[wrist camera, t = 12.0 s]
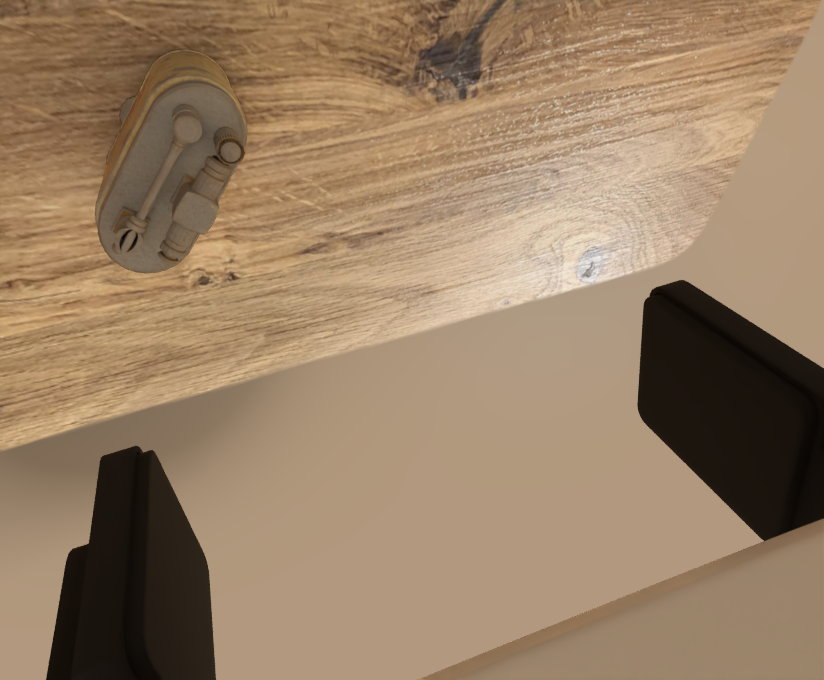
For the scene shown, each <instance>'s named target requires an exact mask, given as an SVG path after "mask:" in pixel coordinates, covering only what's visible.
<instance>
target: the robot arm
mask: <svg viewBox="0 0 824 680" xmlns="http://www.w3.org/2000/svg"><path fill="white" fill-rule="evenodd" d="M638 411H639V414H640V416H641V418H642V420H643V421H644V423H645V424H646V425H647V426H648V427H649V428H650V429H651V430H652V431H653V432H654V433H655V434H656V435H657V436H658V437H659V438H660V439H661V440H662V441H663V442H664V443H665V444H666V445H667V446H668V447H669V448H670V449H672V450H673V452H674V453H676V455H677V456H678V457H679V458H681V460H683V462H685V463H686V464H687V465H688V466H689V467H690V468H691V469H692V470H693V471H694V472H695V473H696V474H697V475H698V476H699V477H700V478H701V479H702V480H703V481H704V482H705V483H706V484H707V485H708V486H709V487H710V488H711V489H712V490H713V491H714V492H715V493H716V494H717V495H718V496H719V497H720V498H721V499H722V500H723V501H724V502H725V503H726V504H727V505H728V506H729V507H730V508H731V509H732V510H733V511H734V512H735V513H736V514H737V515H738V516H739V517H740V518H741V519H742V520H743V521H744V522H745V523H746V524H747V525H748V526H749V527H750V528H751V529H752V530H753V531H754V532H755V533H756V534H757V535H758V536H759V537H760V538H761V539H763V540H764V542H761V543H759V544H756V545H754V546H751V547H749V548H746V549H743V550H741V551H738V552H736V553H733V554H731V555H728V556H726V557H723V558H721V559H718V560H716V561H713V562H710V563H708V564H705V565H703V566H700V567H698V568H695V569H693V570H690V571H688V572H685V573H683V574H680V575H678V576H675V577H672V578H670V579H668V580H665V581H662V582H660V583H657V584H655V585H652V586H650V587H647V588H645V589H642V590H640V591H637V592H635V593H632V594H630V595H627V596H625V597H622V598H620V599H617V600H615V601H612V602H610V603H607V604H605V605H602V606H600V607H597V608H595V609H592V610H590V611H587V612H585V613H582V614H580V615H577V616H575V617H572V618H570V619H567V620H565V621H562V622H560V623H557V624H555V625H552V626H550V627H547V628H545V629H542V630H540V631H537V632H535V633H532V634H530V635H527V636H525V637H522V638H520V639H517V640H515V641H512V642H510V643H507V644H505V645H503V646H500V647H497V648H495V649H493V650H490V651H488V652H485V653H483V654H480V655H478V656H475V657H473V658H471V659H468V660H466V661H463V662H461V663H458V664H456V665H453V666H451V667H448V668H446V669H443V670H441V671H438V672H436V673H433V674H431V675H428V676H426V677H424V678H421V679H419V680H824V368H822V367H820V366H819V365H817V364H816V363H814V362H813V361H811V360H810V359H808V358H806V357H805V356H803V355H802V354H800V353H799V352H797V351H795V350H794V349H792V348H791V347H789V346H788V345H786V344H784V343H783V342H781V341H780V340H778V339H777V338H775V337H773V336H771V335H770V334H769V333H767V332H766V331H764V330H762V329H761V328H759V327H758V326H756V325H755V324H753V323H751V322H749V321H748V320H747V319H745V318H743V317H742V316H740V315H739V314H737V313H736V312H734V311H733V310H731V309H729V308H728V307H726V306H725V305H723V304H722V303H720V302H718V301H717V300H715V299H714V298H712V297H711V296H709V295H707V294H706V293H704V292H703V291H701V290H700V289H698V288H696V287H695V286H693V285H692V284H690V283H689V282H686V281H684V280H679V281H676V282H673V283H669V284H666V285H663V286H659V287H656V288H654V289H653V290H652V291H651V293H650V297H649V298H647V299H646V300H645V302H644V310H643V325H642V340H641V357H640V374H639V390H638ZM215 676H216V674H215V659H214V644H213V628H212V612H211V596H210V580H209V570H208V565H207V561H206V558H205V555H204V553H203V550H202V548H201V546H200V544H199V542H198V540H197V538H196V536H195V534H194V532H193V530H192V528H191V526H190V523H189V521H188V519H187V517H186V515H185V513H184V511H183V509H182V507H181V505H180V503H179V501H178V499H177V497H176V494H175V492H174V490H173V488H172V486H171V484H170V482H169V480H168V478H167V476H166V474H165V472H164V470H163V468H162V466H161V463H160V461H159V459H158V457H157V456H156V454H155V452H154V451H153V450H150V451H147V452H144V453H143V452H142V450H141V449H140V447H138V446H134V447H131V448H127V449H124V450H121V451H117V452H114V453H111V454H108V455H104V456H102V457H101V460H100V466H99V473H98V480H97V488H96V495H95V502H94V510H93V517H92V525H91V533H90V540H89V544H87V545H84V546H80V547H77V548H74V549H72V550H71V551H70V553H69V554H68V557H67V561H66V566H65V571H64V577H63V583H62V589H61V595H60V601H59V608H58V613H57V619H56V625H55V631H54V637H53V642H52V649H51V655H50V660H49V666H48V672H47V678H46V680H216V677H215Z"/></svg>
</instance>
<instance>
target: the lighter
mask: <svg viewBox="0 0 824 680" xmlns="http://www.w3.org/2000/svg"><path fill="white" fill-rule="evenodd" d="M120 120H121V124H122V126H121V128H120V130H119V133H118V135H117V137H116V139H115V141H114V143H113V145H112V147H111V149H110V151H109V153H108V155H107V163H106V169H105V173H104V177H103V180H102V184H101V187H100V191H99V194H98V198H97V202H96V208H95V220H96V225H97V228H98V235H99V239H100V242H101V244H102V246H103V248H104V250H105V252H106V253H107V254H108V255H109V257H110V258H111V259H112V260H113V261H115V262H116V263H117V264H118V265H120V266H122V267H124V268H126V269H128V270H131V271H134V272H139V273H157V272H161V271H165V270H167V269H169V268H171V267H174V266H175V265H177V264H178V263H179V262H181V261H182V260H183V259H184V258H185V257H186V256H187V255H188V254H189V252H190V250H191V249H192V247H193V245H194V243H195V242H196V240H197V238H198V236H199V235H200V234H203V235H204V234H205V233H206V232H207V231H208V230H209V228H210V227H211V226H212V224H213V222H214V220H215V219H216V216H217V213H218V209H219V205H218V201H219V199H220V197H221V195H222V193H223V191H224V190H225V188H226V186H227V184H228V182H229V180H230V178H231V176H232V174H233V173H234V171H235V169H236V167H237V165H238V163H239V162H240V161H241V160H242V159H243V157H244V154H245V151H244V148H245V145H246V140H247V124H246V118H245V115H244V113H243V110H242V107H241V105H240V103H239V102H238V100H237V98H236V96H235V94H234V92H233V90H232V88H231V85H230V82H229V79H228V77H227V75H226V74H225V72H224V71H223V69H222V68H221V67H220V66H219V65H218V63H217V62H216V61H214V60H213V59H212V58H210V57H209V56H207V55H205V54H203V53H201V52H198V51H194V50H188V49H180V50H173V51H171V52H168V53H165V54H164V55H162V56H161V57H159V58H158V59H157V60H156V61H155V62H154V63H153V64H152V65H151V67H150V69H149V71H148V73H147V75H146V77H145V79H144V81H143V83H142V86H141V88H140V90H139V92H138V94H137V96H133V97H131V98H129V99H127V100H126V101H125V102H124V103H123V105H122V106H121V110H120Z"/></svg>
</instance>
